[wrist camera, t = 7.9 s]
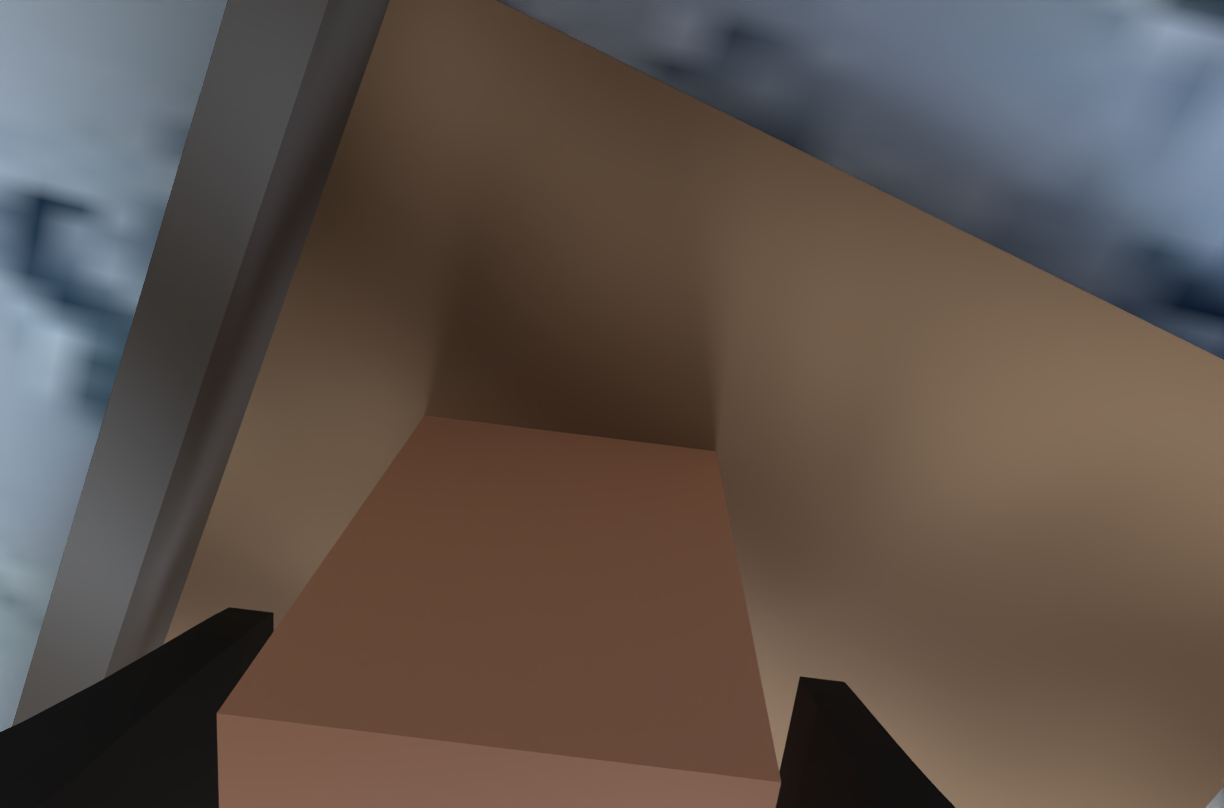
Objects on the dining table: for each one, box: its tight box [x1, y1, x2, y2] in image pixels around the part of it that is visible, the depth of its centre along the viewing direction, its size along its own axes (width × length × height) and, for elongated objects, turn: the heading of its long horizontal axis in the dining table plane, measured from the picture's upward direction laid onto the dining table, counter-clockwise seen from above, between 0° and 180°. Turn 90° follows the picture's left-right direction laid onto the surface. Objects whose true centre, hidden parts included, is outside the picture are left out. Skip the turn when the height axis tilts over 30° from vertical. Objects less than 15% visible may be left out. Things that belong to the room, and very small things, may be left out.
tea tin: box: [217, 415, 781, 808], centre depth 11 cm, size 4×6×7 cm
